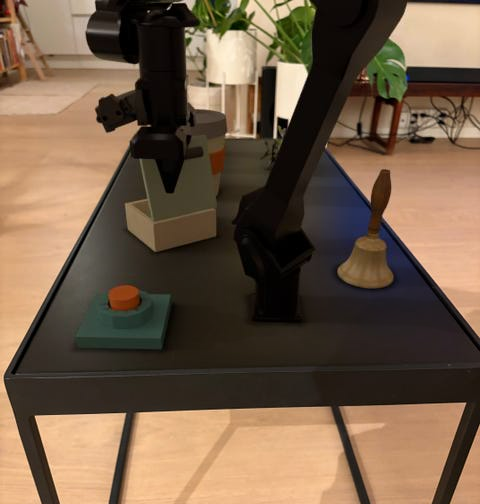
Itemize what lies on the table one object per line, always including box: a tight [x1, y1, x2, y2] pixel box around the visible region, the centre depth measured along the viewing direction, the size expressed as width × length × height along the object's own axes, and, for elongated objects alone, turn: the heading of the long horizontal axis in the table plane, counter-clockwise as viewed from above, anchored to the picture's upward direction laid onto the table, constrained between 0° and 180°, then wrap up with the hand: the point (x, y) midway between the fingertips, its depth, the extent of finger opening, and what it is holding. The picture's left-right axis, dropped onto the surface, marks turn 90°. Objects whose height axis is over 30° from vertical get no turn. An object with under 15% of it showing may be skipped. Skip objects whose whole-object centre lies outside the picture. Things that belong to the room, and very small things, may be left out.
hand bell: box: [337, 168, 394, 290], centre depth 73 cm, size 8×8×16 cm
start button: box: [108, 284, 140, 311], centre depth 63 cm, size 4×4×2 cm
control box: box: [75, 289, 173, 350], centre depth 64 cm, size 10×10×4 cm
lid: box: [139, 135, 218, 222], centre depth 79 cm, size 11×12×5 cm
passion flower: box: [260, 125, 287, 169], centre depth 117 cm, size 11×11×12 cm
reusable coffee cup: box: [180, 108, 228, 197], centre depth 102 cm, size 13×13×15 cm
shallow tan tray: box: [124, 198, 217, 253], centre depth 88 cm, size 11×12×5 cm
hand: (170, 192), depth 71 cm, fingers closed
